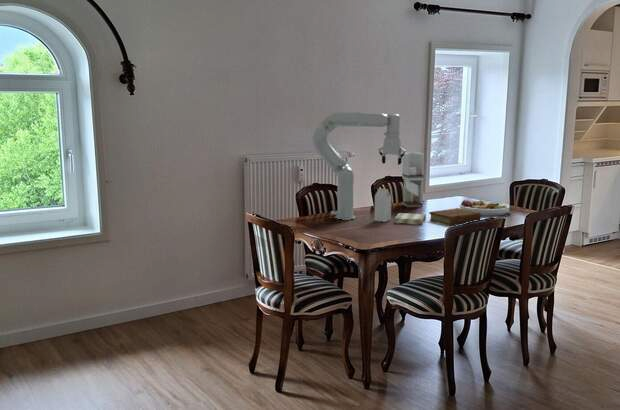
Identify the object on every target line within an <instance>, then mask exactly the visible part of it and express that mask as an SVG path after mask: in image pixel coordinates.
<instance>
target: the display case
mask: <svg viewBox="0 0 620 410" xmlns="http://www.w3.org/2000/svg"><path fill="white" fill-rule="evenodd" d="M424 161H425V154H424V153H421V152H406V153H405V155H404V156H403V157H402V173H401V174H402V175H401V176H402V179H403V201H401V205H402V206H405V207H406V208H419V207H421V208H422V207H424V173H425V172H424V169H425V168H424V166H425V162H424Z"/></svg>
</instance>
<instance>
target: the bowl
mask: <svg viewBox="0 0 620 410" xmlns="http://www.w3.org/2000/svg"><path fill="white" fill-rule="evenodd" d="M459 208H460V209H464V210H469V211H474V212H479V213H480V214H481V217H499V216H503V215H506V214H507V213H508V212H509V211H510V205H509V204H507V203H504V202H498V201H489V200H487V201H485V200H482V199H480V200H471V201H470V200H467V199H466V200H465V199H464V200H463V201H461V202H460V203H459ZM498 215H499V216H498Z"/></svg>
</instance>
